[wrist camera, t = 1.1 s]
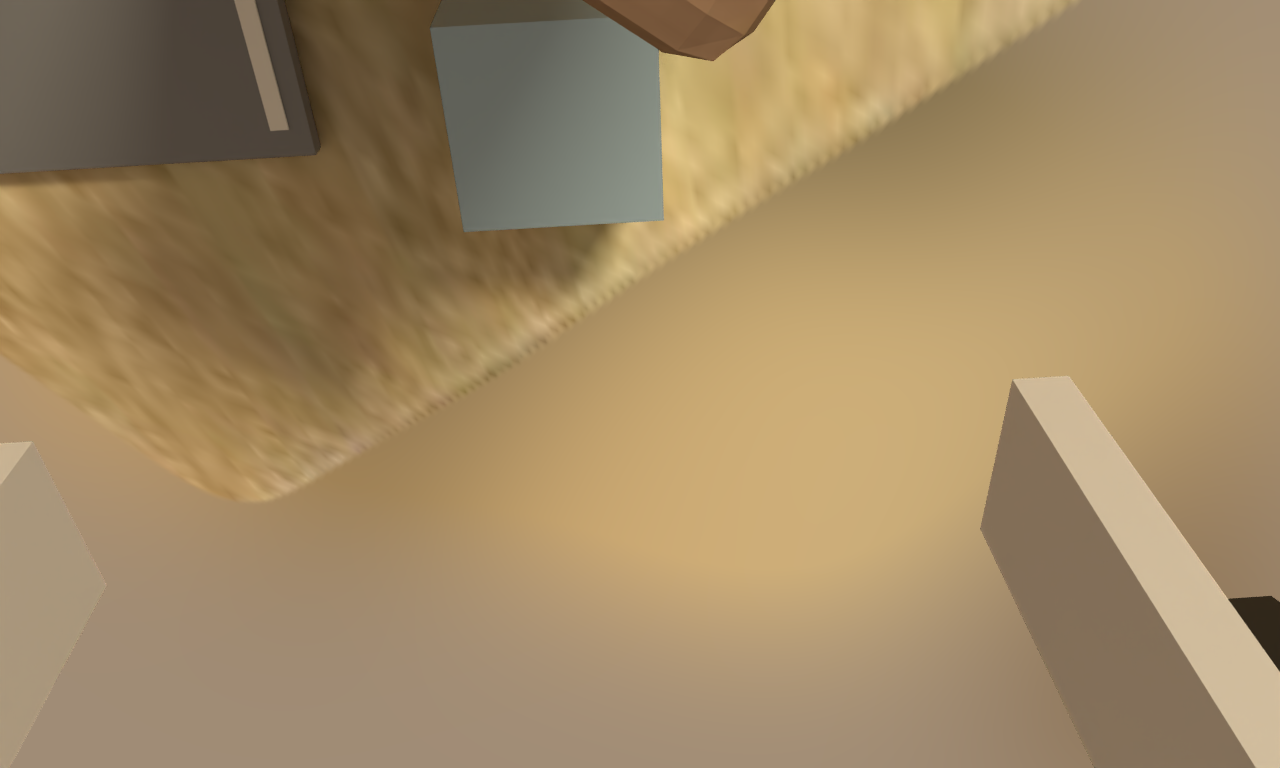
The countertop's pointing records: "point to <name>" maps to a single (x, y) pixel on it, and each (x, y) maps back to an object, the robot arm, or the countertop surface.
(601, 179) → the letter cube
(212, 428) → the countertop surface
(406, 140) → the countertop surface
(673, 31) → the wooden block
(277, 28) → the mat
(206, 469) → the countertop surface
